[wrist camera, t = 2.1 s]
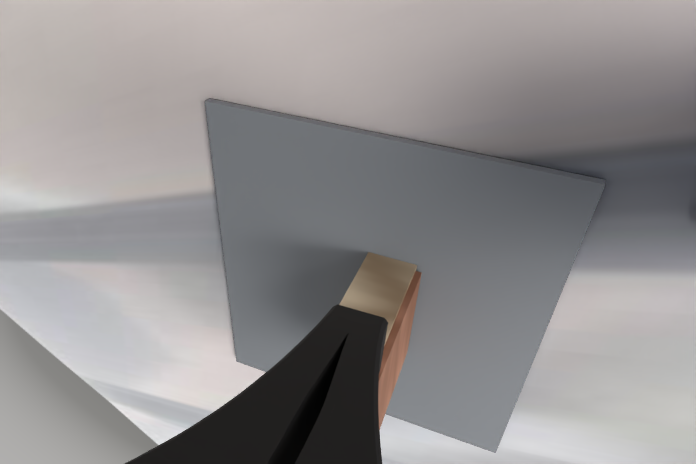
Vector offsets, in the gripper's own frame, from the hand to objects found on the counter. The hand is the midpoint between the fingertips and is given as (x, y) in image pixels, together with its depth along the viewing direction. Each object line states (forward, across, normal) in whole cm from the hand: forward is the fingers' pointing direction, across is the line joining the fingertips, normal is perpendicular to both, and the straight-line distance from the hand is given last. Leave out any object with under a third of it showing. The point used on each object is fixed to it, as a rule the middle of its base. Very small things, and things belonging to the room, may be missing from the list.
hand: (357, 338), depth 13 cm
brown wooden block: (+10, +1, +8) cm, 13 cm away
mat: (+11, +2, +8) cm, 14 cm away
